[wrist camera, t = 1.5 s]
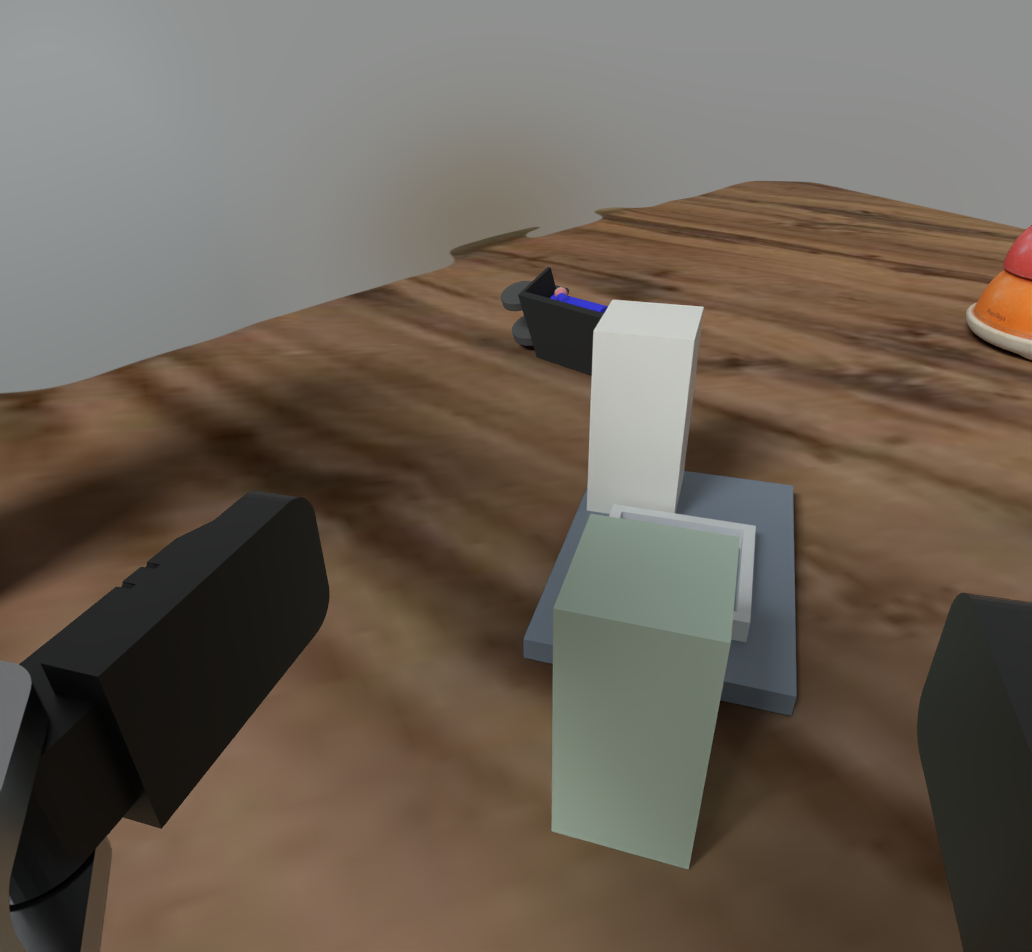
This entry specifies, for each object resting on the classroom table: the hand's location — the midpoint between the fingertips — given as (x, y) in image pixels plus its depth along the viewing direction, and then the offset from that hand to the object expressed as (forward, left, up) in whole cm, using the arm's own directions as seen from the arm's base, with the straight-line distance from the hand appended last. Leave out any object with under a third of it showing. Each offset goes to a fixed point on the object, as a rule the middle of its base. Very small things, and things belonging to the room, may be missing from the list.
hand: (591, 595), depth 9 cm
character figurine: (-36, +38, -20) cm, 56 cm away
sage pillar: (-6, +9, -19) cm, 22 cm away
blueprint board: (-13, +21, -19) cm, 31 cm away
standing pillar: (-18, +24, -18) cm, 35 cm away
